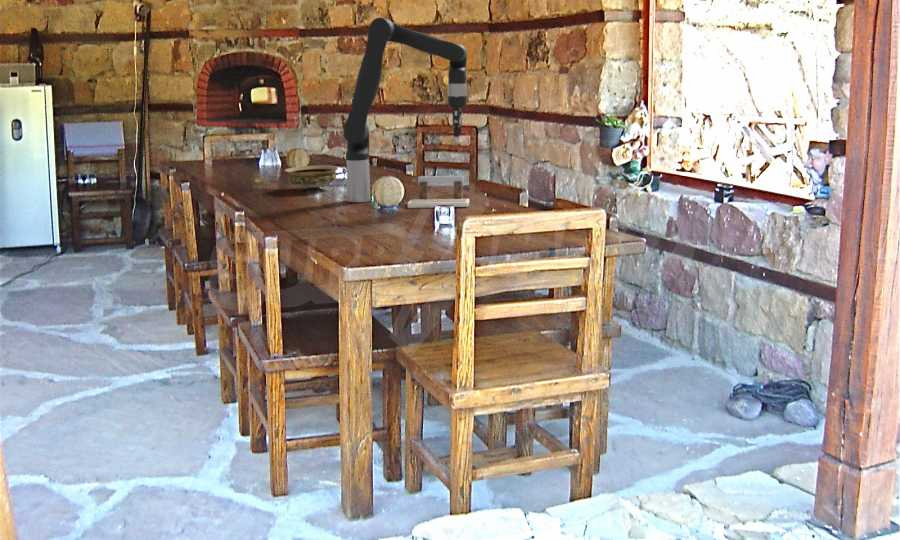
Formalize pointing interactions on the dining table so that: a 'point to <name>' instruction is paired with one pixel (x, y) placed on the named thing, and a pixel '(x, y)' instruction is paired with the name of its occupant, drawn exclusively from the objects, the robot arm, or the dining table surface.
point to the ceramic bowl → (312, 176)
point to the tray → (437, 203)
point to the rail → (440, 180)
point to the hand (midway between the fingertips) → (457, 135)
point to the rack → (425, 190)
